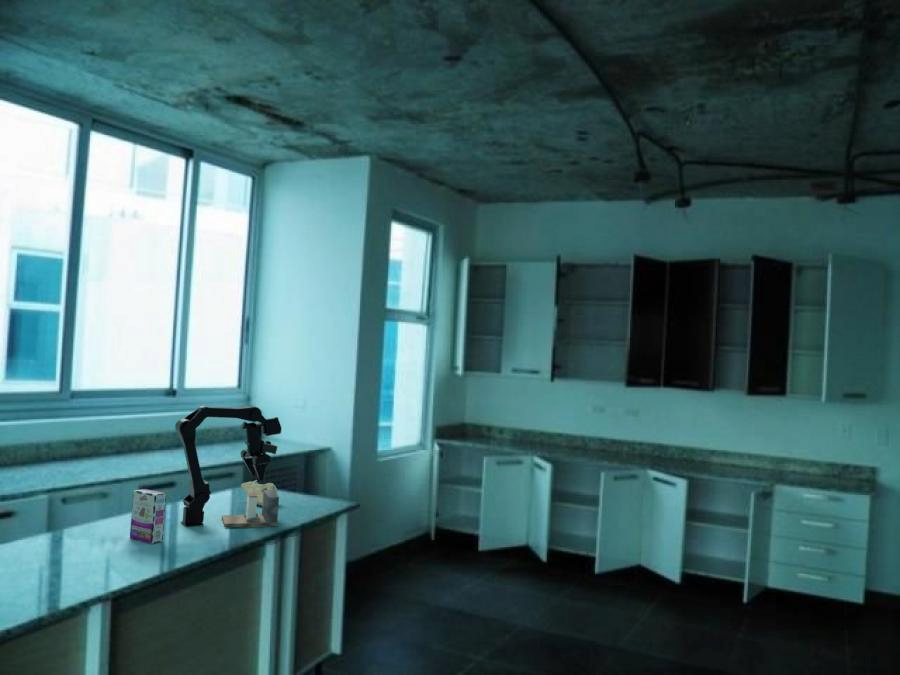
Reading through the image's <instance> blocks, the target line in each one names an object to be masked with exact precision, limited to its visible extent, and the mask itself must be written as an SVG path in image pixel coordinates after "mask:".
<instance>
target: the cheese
mask: <svg viewBox="0 0 900 675" xmlns="http://www.w3.org/2000/svg"><path fill="white" fill-rule="evenodd" d="M240 486H241V489H242V490H243V491H244V492H245V493H246V494H247V493H256V494H257V505H258V506H260V505H261V506H260V507H262V504H263V491H264V490H274V491H275V493H276V494H277V495H278V488H277V487H276V485H275V484H274V483H272V482H267V483H265V484H260V483H259V482H258V480H257V479H256V480H253V481H251V480H250V481H248V482H243V483H241V484H240Z"/></svg>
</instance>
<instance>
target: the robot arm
mask: <svg viewBox="0 0 900 675" xmlns="http://www.w3.org/2000/svg"><path fill="white" fill-rule="evenodd" d="M207 418H225V419H227V418H228V419H239V420H243V421H242V422H243V423H242V424H241V425H240V426H239V427H240V429H243V430H244V429H245V435H246V437H245V438H246V440H245V441H244V442H245V445H246V448H245V449H242V450H241V451H240V458H242V461H243V462H244V464H245V466H246V468H247V469H248V471H249V472H250V475H251V476H252V477H254V476H255V475H256V474H257V478H258V479H259V481H263V479H264V476H265V472H266V468H267V466H269V465H270V463H271V462H272V456H270V455H269V454H273V455H276V454H277V451H278V447H279V446H278V445H275V444H272V441H270V440H265V441H264V440H263V436H262V435H264V437H269V436H276V435H281V433H282V425H281V422H280V420H279V417H277V416H275V417H270V418H266V417H264V416H263V413H262V410H261V409H260V408H259V407H258V406H254V405H245V406H244V405H243V406H239V407H223V406H220V407H219V406H206V405H200V406H199V407H198V408H196V409H195V410H194V411H192V412H191V413H189V414H188V415H187V416H185V417H184V418H181V419H179V420H177V421H176V423H175V425H174V426H175V431H176V434H177V436H178V437H179V440H180V442H181V444H182V446H183V452H184V456H185V461H186V466H187V470H188V474H189V480H190V482H189V486H188V487H189V490H188V491H189V493H188V495H187V496H185V498H184V499H183V500H182V503H183V505H184V507H183V509H182V510H183V511H182V521H180V524H182V525H183V526H185V527H196V526H203V525H204V518H205V511H204V507H205V506H206V504H207V503H208V502H209V500H210V497H211V495H212V492H211V490H210V483H209V482H208V481H206V480H205V479H203V476H202V470H201V466H200V461H199V456H198V452H197V446H196V436H197V430H196V429H197V428H198V427H199V426H201V424H202V423H203V422H204V421H205V420H206V419H207ZM246 421H248V422H246Z"/></svg>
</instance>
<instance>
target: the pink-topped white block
mask: <svg viewBox="0 0 900 675" xmlns="http://www.w3.org/2000/svg"><path fill="white" fill-rule="evenodd" d="M246 494H247V495H246V508H245V511H246V512H245V513H246V518H256V513H257V507H258V506H257V505H258V504H257V494H256V493H246Z"/></svg>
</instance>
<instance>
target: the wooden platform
mask: <svg viewBox="0 0 900 675" xmlns="http://www.w3.org/2000/svg"><path fill="white" fill-rule="evenodd" d="M279 502H280V496H279V495H278V493H277V494H276V493H275V491H274V490H264V491H263V504H262V506H261V507H262V508H261V514H259V513H258V512H256V518H246V512H244V514H229V515H227V514H224V515H221V521H223V522H222V525H223V524H224V525H223V527H240V528H259V527H258V526H277V527H278V516H279ZM253 526H254V527H253Z"/></svg>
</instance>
